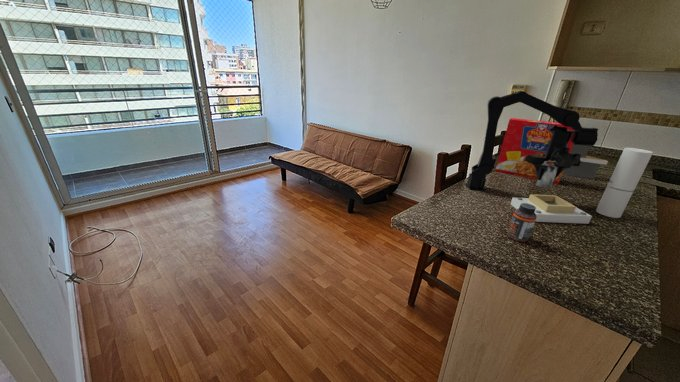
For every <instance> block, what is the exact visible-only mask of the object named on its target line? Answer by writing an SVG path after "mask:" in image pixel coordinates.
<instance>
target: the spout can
mask: <svg viewBox="0 0 680 382" xmlns="http://www.w3.org/2000/svg"><path fill="white" fill-rule="evenodd" d="M546 166H548V167H547V168H545V169H544V172H543V175H542V177H541V179H540V180H536V183H535V185H536V186H537V187H539V188H543V189H551V188H552V185H553V181H554V178H555V175H556V173H557V170H558V166H557V165H553V164H546Z"/></svg>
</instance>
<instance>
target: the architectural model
mask: <svg viewBox="0 0 680 382" xmlns="http://www.w3.org/2000/svg"><path fill="white" fill-rule="evenodd" d="M590 147H591V146H582V145H573V147H572V150H571V152H570V154H580V155H581V158H580V161H581V163H580V166H571V168H567V169H565V170H564V171H563V173H562V175H565V176H570V177H571V176H573V177H576V178H577V177H578V178H584V179H591V180H595V177H596V175H597V172H599V168H600V165H605V166H606V165H608V163H609V161H608V160H606V159H602V158H598V157H593V156H589V155H588V152H589V150H590Z"/></svg>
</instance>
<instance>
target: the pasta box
mask: <svg viewBox="0 0 680 382" xmlns="http://www.w3.org/2000/svg"><path fill="white" fill-rule="evenodd" d="M554 124H556V125H557V127H566V126H563V125H561V124H559V123H558V122H557V121H555V122H553V121H544V120H534V119H524V118H517V117H516V118H515V117H510V119H509V120H508V124H507V127H506V131H505V134H504V136H503V137H504V138H503V142H502V145H501V148H500V152H499V156H498V159H497V163H496V166H495V170H494V172H495V173H498V174H500V173H501V174H505V175H510V176H514V177H520V178H525V179H530V180H535V181H537V180H538V179H537V174H536V169H535V166H534V165H533V164H531V163H529V162H527V161H525V158H526V156H527V155H528V154H530V155H538V156H541V157H544V156H543V154H546V152H547V149H548V147H547V146H546V144H549V143H550V140H551V137H552V134H553V131H550V130H548V128H549V127H551V126H553V125H554ZM566 128H567V130H574V129H572V128H570V127H566ZM574 131H575V130H574ZM571 135H572V134H571ZM570 138H571V137H570ZM567 147H569V153H570V152H571V150H572V147H573V143H572V142H571V141H570V140H569V142H568V145H567ZM546 164H553V165H554V163H552V162H546ZM563 171H564V170H563ZM563 171H562V172H561V173H560V174H559V175H558V176H557V177H556V179H555V180H554V181H553V183H552V185H553V184H555V185H559V184H560V181H561V178H562V176H563V174H562V173H563Z"/></svg>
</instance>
